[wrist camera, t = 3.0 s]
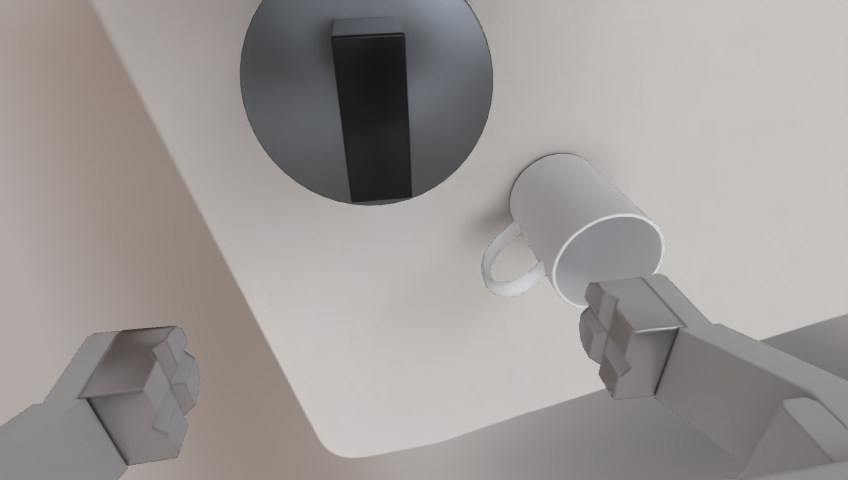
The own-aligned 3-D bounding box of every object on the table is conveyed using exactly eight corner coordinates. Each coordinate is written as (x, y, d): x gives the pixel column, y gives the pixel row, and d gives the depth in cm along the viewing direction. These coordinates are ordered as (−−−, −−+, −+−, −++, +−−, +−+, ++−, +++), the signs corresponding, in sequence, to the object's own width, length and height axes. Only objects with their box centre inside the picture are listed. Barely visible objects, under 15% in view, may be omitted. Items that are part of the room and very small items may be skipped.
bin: (293, 126, 33) (252, 263, 19) (261, -51, 27) (168, -44, 13) (444, 116, 34) (510, 238, 20) (443, -57, 28) (536, -57, 14)
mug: (591, 138, 38) (663, 196, 29) (602, 216, 43) (667, 287, 34) (450, 189, 39) (479, 261, 30) (474, 261, 43) (506, 342, 35)
